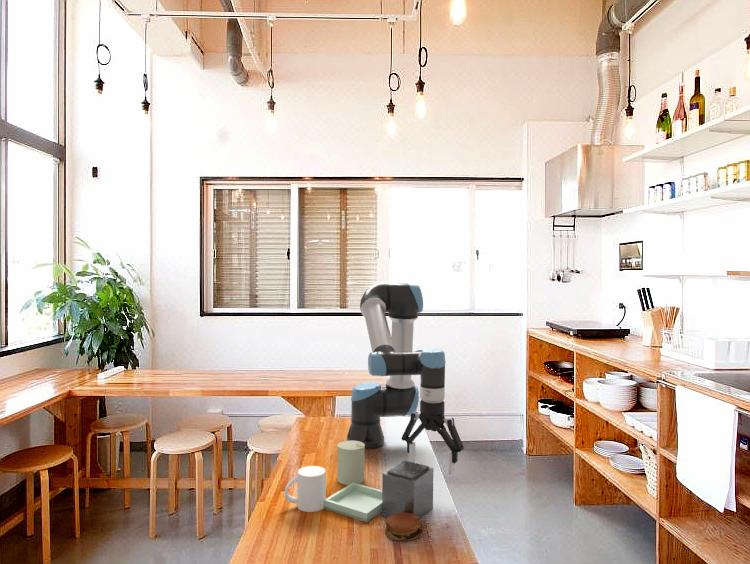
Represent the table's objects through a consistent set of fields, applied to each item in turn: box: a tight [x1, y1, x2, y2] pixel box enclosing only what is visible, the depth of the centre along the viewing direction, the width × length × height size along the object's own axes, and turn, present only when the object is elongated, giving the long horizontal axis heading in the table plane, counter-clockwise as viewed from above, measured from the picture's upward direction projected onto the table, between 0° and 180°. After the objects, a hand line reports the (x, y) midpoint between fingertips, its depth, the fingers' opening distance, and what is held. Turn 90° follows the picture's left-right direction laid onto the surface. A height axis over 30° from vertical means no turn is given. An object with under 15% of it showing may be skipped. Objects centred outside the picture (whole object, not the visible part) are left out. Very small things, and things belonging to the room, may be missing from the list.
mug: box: [283, 465, 327, 513], centre depth 151 cm, size 8×10×12 cm
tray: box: [323, 482, 382, 523], centre depth 152 cm, size 15×15×2 cm
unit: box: [381, 460, 434, 521], centre depth 148 cm, size 12×10×13 cm
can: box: [336, 440, 366, 486], centre depth 171 cm, size 9×9×12 cm
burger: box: [384, 513, 423, 542], centre depth 136 cm, size 10×9×5 cm
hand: (431, 468), depth 161 cm, fingers open, 13 cm apart
